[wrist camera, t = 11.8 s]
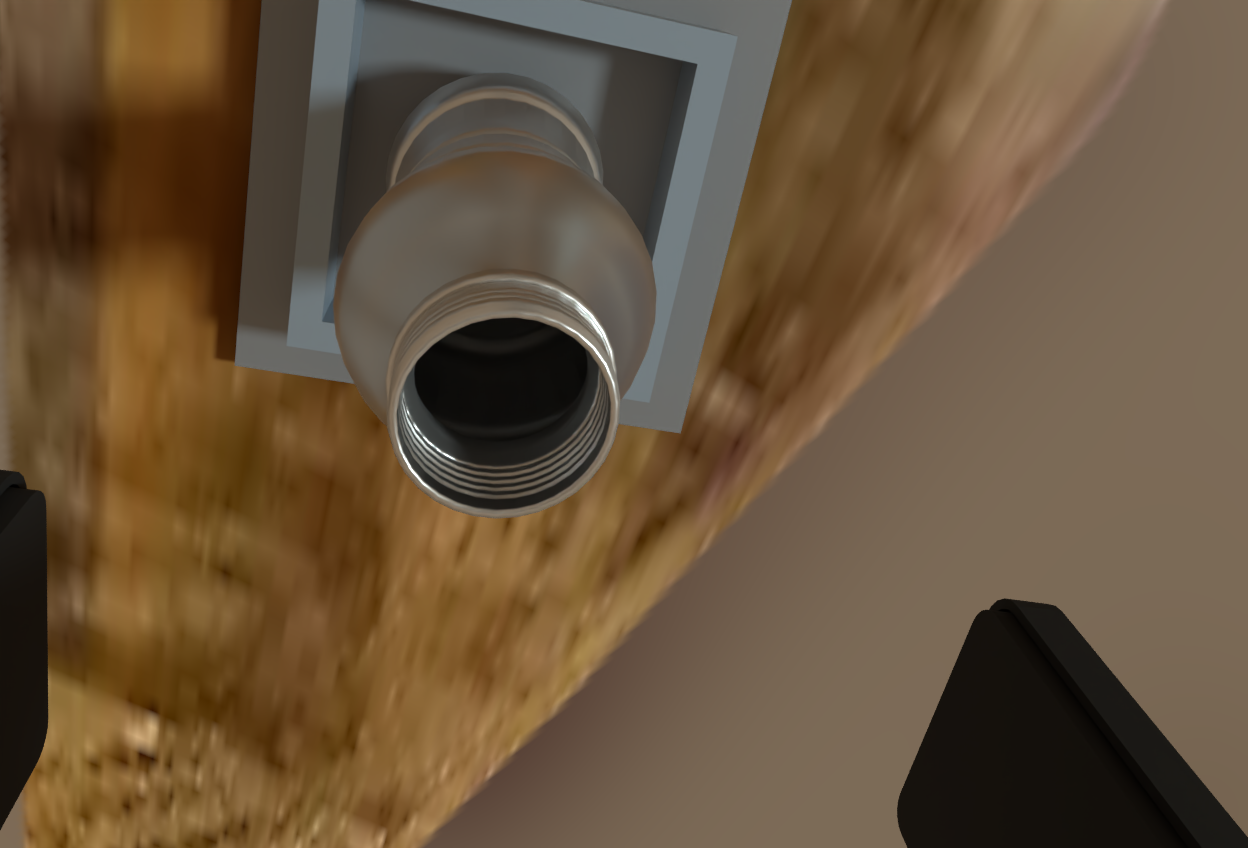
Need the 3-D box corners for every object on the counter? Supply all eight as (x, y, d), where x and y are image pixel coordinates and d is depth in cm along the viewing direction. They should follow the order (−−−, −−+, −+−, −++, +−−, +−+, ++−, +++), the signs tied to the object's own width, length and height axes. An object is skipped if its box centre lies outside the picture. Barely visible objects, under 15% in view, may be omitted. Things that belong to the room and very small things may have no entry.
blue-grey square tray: (277, -147, 31) (254, -157, 28) (791, -23, 34) (819, -20, 31) (239, 357, 37) (217, 393, 34) (677, 424, 40) (691, 462, 37)
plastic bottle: (635, 178, 35) (795, 427, 17) (482, 304, 36) (480, 662, 18) (507, 17, 33) (538, 109, 14) (348, 158, 34) (191, 406, 16)
